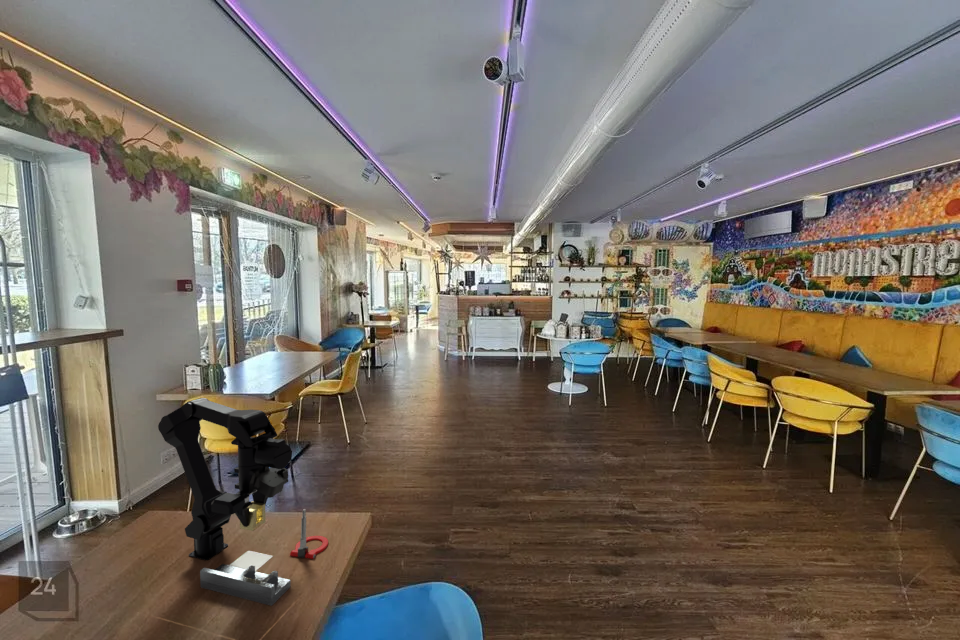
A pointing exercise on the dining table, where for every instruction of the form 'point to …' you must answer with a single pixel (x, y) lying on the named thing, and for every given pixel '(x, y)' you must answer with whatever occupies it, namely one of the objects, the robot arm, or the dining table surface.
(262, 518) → the bracket
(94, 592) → the dining table surface
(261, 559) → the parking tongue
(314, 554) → the tow hook
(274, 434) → the robot arm
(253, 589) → the rack flange
